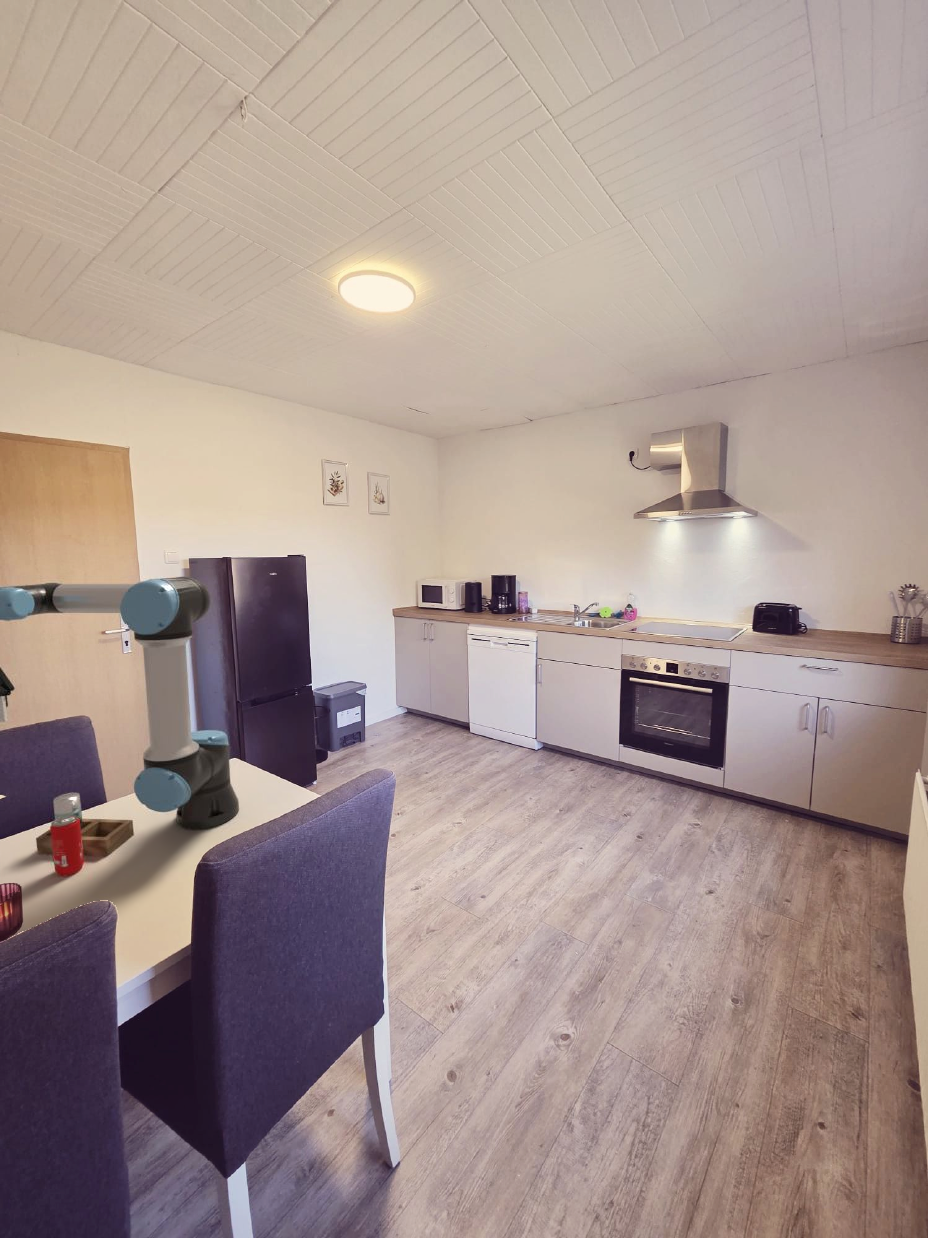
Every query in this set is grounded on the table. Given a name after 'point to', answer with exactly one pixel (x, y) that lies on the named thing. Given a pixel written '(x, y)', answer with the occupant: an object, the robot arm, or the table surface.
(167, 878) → the table surface
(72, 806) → the transparent cylindrical container
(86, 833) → the holder
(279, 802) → the table surface
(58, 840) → the beverage can
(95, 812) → the table surface
